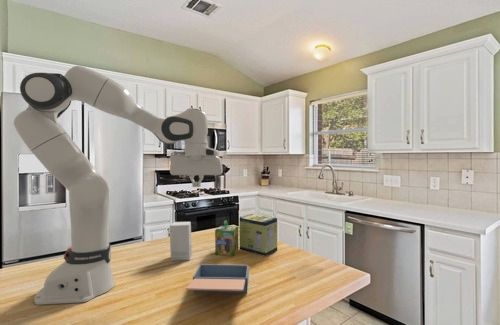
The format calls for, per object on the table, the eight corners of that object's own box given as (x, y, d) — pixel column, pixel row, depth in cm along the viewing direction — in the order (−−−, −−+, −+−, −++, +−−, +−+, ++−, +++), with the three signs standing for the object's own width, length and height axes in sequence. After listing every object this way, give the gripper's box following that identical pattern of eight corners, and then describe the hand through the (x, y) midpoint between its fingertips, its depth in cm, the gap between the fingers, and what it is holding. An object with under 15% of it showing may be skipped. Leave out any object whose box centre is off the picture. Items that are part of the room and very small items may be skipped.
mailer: (192, 292, 92) (192, 277, 92) (200, 277, 103) (200, 264, 103) (247, 293, 91) (247, 278, 91) (248, 278, 102) (248, 265, 102)
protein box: (251, 243, 142) (251, 213, 141) (277, 250, 132) (277, 217, 132) (238, 249, 133) (238, 217, 133) (266, 256, 124) (266, 222, 123)
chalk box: (234, 256, 124) (234, 223, 123) (214, 255, 126) (214, 222, 125) (239, 249, 133) (239, 219, 132) (220, 248, 135) (220, 218, 134)
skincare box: (192, 255, 125) (191, 221, 125) (189, 261, 119) (189, 225, 118) (173, 255, 125) (173, 221, 124) (169, 261, 118) (169, 225, 118)
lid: (194, 278, 91) (194, 279, 91) (185, 288, 80) (185, 289, 80) (245, 279, 91) (245, 280, 90) (243, 289, 80) (243, 290, 80)
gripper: (167, 151, 105) (167, 187, 105) (220, 151, 104) (221, 187, 104) (172, 151, 111) (172, 185, 112) (223, 151, 110) (223, 185, 111)
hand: (196, 186), depth 108 cm, fingers closed
